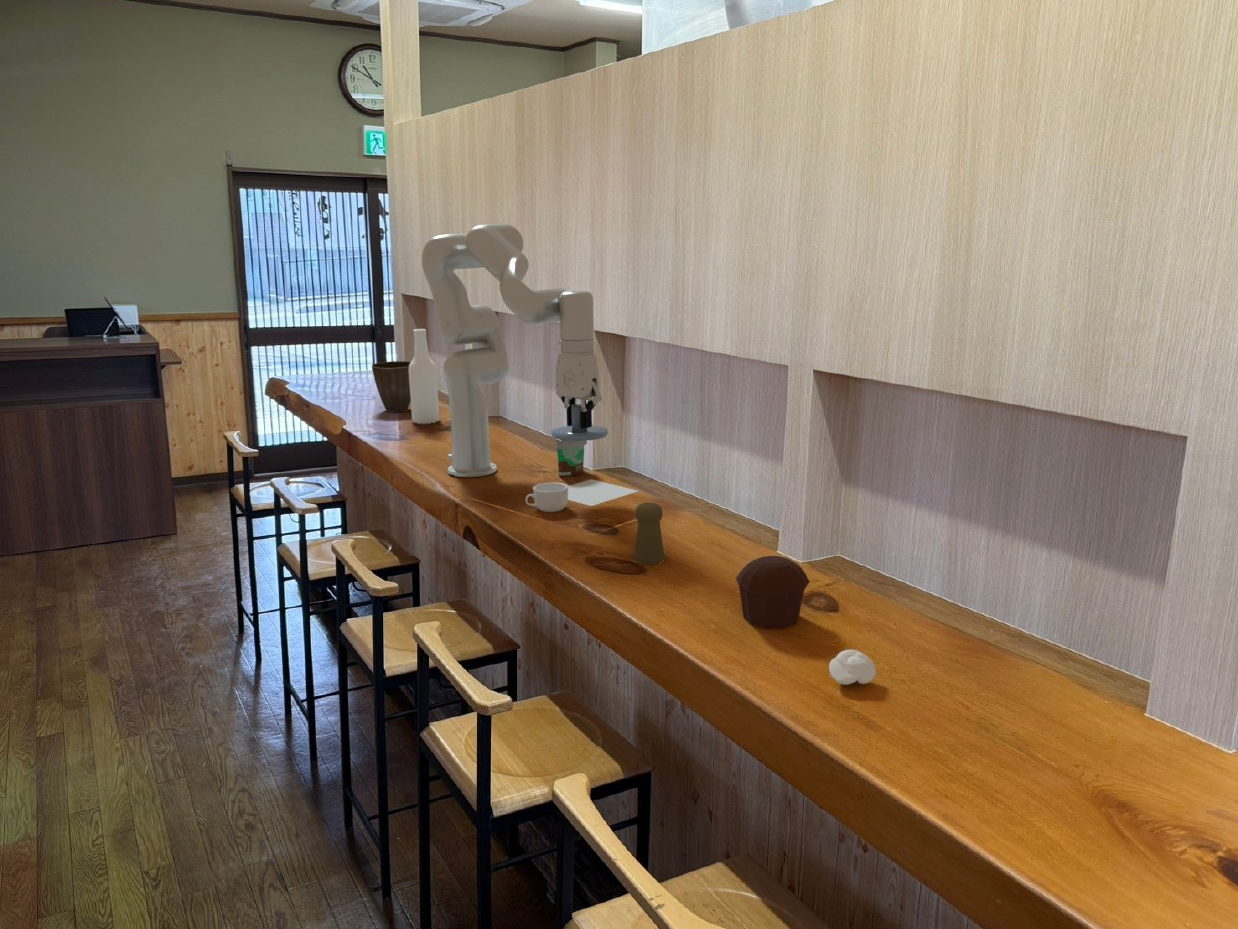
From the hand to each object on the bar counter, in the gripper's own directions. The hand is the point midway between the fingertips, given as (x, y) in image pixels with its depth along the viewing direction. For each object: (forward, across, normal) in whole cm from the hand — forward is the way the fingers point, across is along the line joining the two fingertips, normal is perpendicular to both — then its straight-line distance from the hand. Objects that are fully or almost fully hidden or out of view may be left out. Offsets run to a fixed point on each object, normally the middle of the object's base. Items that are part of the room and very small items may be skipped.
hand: (579, 425), depth 217 cm
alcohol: (+18, -100, +29) cm, 105 cm away
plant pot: (+18, -124, +35) cm, 130 cm away
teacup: (+17, +1, -12) cm, 21 cm away
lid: (+2, 0, 0) cm, 2 cm away
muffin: (+17, +72, -29) cm, 79 cm away
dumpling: (+17, +92, -41) cm, 102 cm away
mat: (+17, 0, +4) cm, 18 cm away
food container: (+17, -16, +14) cm, 28 cm away
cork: (+17, +39, -21) cm, 48 cm away
